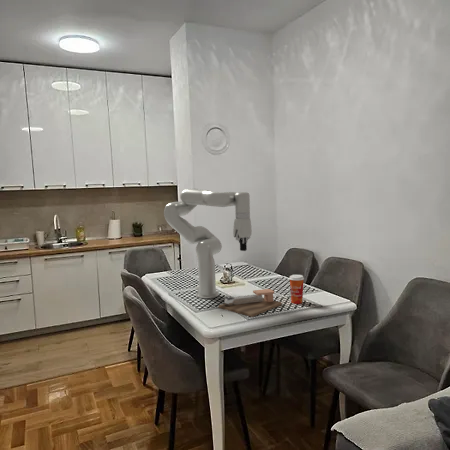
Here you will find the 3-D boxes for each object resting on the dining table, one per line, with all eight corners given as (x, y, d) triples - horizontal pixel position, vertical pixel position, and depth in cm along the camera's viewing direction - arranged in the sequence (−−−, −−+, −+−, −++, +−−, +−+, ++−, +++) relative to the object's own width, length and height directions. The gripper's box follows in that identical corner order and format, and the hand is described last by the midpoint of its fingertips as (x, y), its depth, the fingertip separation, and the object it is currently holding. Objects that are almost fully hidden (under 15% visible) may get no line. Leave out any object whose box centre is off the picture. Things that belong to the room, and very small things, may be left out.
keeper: (257, 305, 204) (257, 293, 204) (253, 302, 210) (253, 290, 209) (274, 303, 207) (274, 291, 206) (269, 300, 213) (269, 288, 212)
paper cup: (286, 303, 208) (286, 276, 206) (293, 299, 214) (292, 273, 213) (301, 305, 203) (300, 278, 202) (306, 301, 210) (306, 275, 208)
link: (226, 306, 200) (226, 299, 199) (223, 303, 205) (223, 296, 204) (263, 301, 206) (263, 294, 206) (259, 299, 211) (259, 292, 211)
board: (218, 307, 203) (218, 305, 203) (248, 297, 220) (248, 294, 220) (252, 317, 188) (252, 314, 188) (281, 304, 206) (281, 302, 205)
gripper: (246, 214, 218) (246, 247, 220) (227, 216, 207) (228, 251, 209) (257, 215, 213) (257, 249, 215) (238, 217, 202) (239, 253, 204)
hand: (243, 250), depth 212 cm, fingers closed
